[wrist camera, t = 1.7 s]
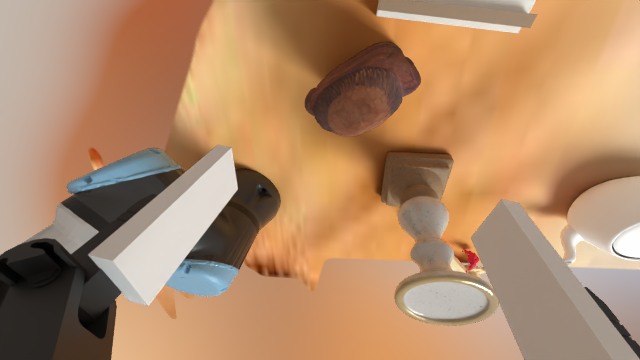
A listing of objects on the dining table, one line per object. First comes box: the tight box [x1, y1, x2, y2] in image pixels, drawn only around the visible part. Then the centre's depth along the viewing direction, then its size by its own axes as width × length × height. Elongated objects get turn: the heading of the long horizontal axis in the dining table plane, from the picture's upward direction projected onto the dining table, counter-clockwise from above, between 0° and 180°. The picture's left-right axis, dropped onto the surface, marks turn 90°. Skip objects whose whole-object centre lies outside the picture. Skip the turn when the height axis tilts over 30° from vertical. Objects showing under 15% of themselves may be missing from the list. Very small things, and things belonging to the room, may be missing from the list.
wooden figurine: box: [305, 42, 421, 136], centre depth 27 cm, size 12×6×18 cm, turn 120°
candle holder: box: [381, 152, 499, 326], centre depth 34 cm, size 11×11×24 cm
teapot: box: [560, 176, 640, 265], centre depth 35 cm, size 22×14×11 cm, turn 138°
